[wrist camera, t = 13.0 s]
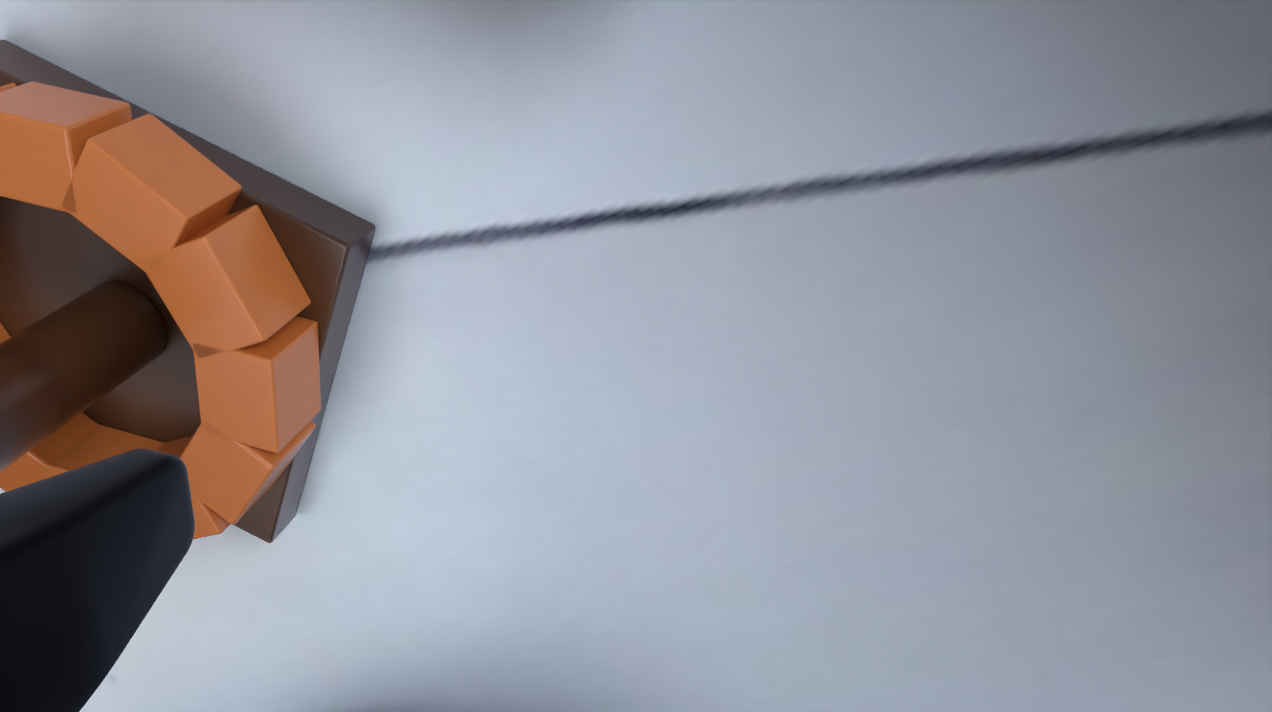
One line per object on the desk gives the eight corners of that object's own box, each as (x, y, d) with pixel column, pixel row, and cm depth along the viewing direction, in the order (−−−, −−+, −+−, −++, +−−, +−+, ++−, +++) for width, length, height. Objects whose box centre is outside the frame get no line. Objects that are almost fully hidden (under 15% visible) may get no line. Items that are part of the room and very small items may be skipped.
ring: (327, 545, 25) (287, 594, 24) (-33, 440, 27) (-92, 480, 26) (312, 142, 20) (258, 171, 19) (-131, 43, 22) (-213, 63, 20)
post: (295, 516, 27) (102, 732, 21) (-12, 359, 27) (-291, 527, 21) (377, 224, 22) (156, 395, 16) (2, 37, 22) (-353, 136, 16)
